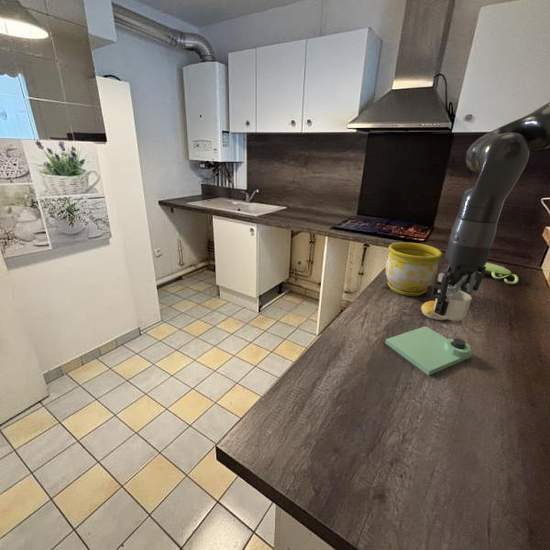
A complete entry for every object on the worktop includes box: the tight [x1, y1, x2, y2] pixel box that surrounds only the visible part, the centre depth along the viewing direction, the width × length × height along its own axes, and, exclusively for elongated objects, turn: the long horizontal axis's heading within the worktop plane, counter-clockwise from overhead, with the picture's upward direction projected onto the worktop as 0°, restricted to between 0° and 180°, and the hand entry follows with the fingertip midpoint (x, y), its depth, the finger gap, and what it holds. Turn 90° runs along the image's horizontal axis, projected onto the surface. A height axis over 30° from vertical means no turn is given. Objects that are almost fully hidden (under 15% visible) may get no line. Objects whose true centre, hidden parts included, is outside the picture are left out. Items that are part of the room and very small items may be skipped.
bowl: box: [434, 289, 473, 322], centre depth 66 cm, size 6×6×5 cm
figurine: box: [484, 262, 519, 285], centre depth 129 cm, size 18×27×6 cm
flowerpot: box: [385, 241, 443, 297], centre depth 111 cm, size 18×18×16 cm
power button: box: [452, 337, 467, 349], centre depth 76 cm, size 3×3×2 cm
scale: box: [384, 325, 473, 376], centre depth 78 cm, size 16×14×3 cm
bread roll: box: [420, 300, 447, 322], centre depth 96 cm, size 8×9×4 cm
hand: (449, 310), depth 66 cm, fingers closed on bowl, 6 cm apart
